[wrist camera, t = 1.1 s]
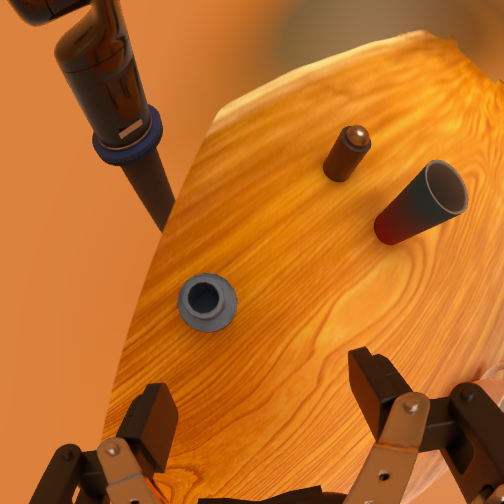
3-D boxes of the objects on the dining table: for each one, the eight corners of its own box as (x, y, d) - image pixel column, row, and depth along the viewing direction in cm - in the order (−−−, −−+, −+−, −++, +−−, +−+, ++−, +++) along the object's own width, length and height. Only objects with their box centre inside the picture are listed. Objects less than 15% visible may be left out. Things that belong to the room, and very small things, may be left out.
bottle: (182, 305, 36) (156, 290, 22) (216, 279, 37) (210, 250, 23) (209, 339, 35) (197, 346, 21) (243, 313, 36) (252, 303, 23)
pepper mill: (317, 166, 42) (339, 124, 32) (335, 153, 43) (359, 112, 33) (337, 187, 42) (364, 149, 32) (354, 173, 43) (383, 135, 33)
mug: (470, 345, 37) (527, 341, 24) (493, 377, 36) (544, 379, 23) (424, 419, 33) (480, 437, 21) (451, 446, 32) (501, 463, 19)
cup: (371, 250, 40) (433, 211, 25) (365, 206, 41) (418, 154, 27) (408, 251, 40) (473, 216, 26) (402, 209, 42) (459, 164, 27)
